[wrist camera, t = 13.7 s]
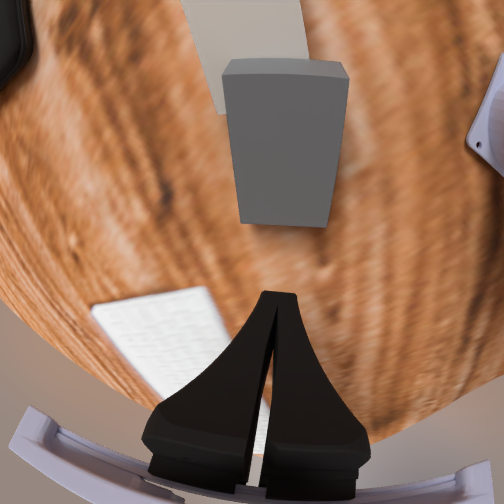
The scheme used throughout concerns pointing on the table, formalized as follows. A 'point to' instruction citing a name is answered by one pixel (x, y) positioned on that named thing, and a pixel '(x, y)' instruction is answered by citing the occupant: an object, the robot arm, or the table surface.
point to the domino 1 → (243, 34)
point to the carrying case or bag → (14, 38)
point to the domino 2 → (285, 137)
